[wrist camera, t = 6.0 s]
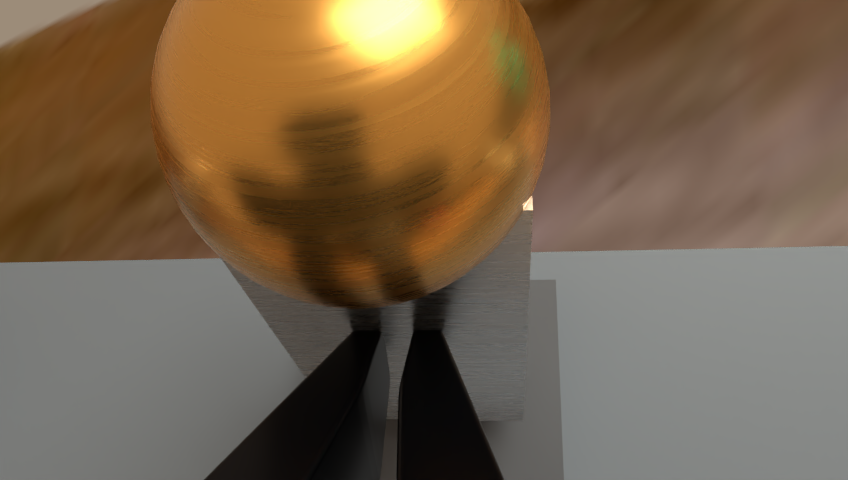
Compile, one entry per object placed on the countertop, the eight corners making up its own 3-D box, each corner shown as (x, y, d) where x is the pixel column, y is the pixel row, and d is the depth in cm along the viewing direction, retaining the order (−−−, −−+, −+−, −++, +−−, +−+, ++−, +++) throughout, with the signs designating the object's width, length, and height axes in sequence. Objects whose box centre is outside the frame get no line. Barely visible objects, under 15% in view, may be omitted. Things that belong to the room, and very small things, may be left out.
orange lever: (537, 483, 11) (588, 98, 4) (315, 477, 11) (-41, 129, 4) (528, 285, 13) (548, -201, 6) (343, 288, 14) (145, -157, 6)
